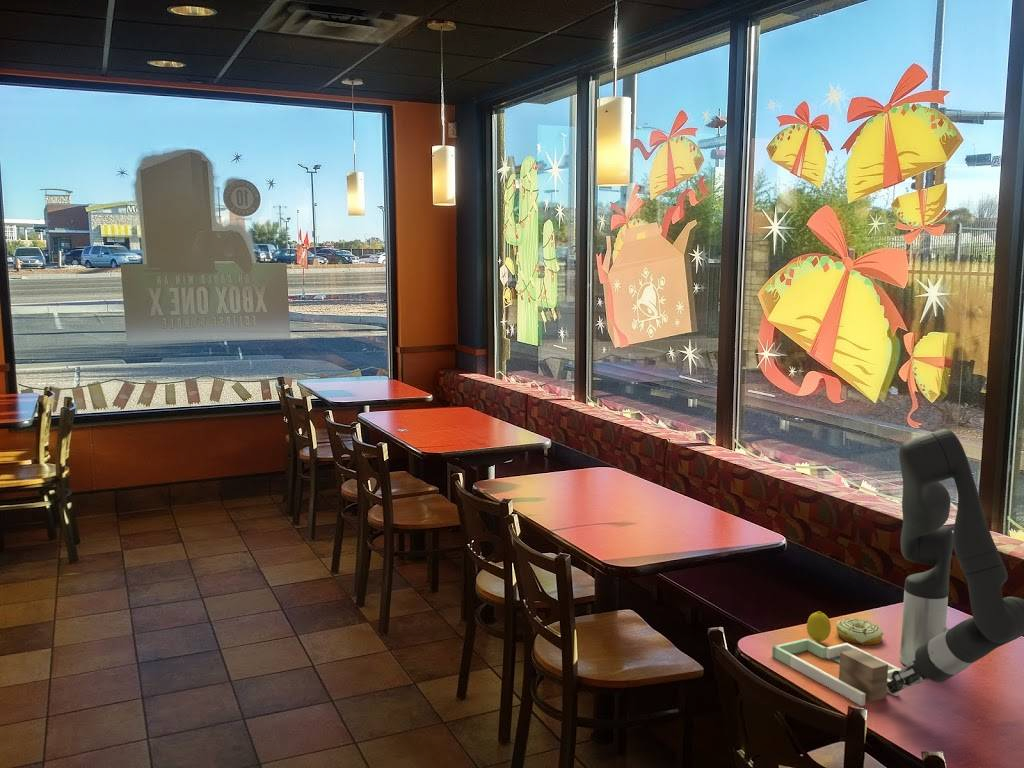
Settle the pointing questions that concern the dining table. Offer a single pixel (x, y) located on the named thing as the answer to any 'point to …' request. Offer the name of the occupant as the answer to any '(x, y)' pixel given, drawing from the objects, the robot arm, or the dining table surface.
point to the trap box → (833, 682)
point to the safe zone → (797, 649)
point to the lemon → (818, 626)
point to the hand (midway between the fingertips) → (891, 688)
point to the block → (864, 673)
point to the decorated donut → (859, 631)
